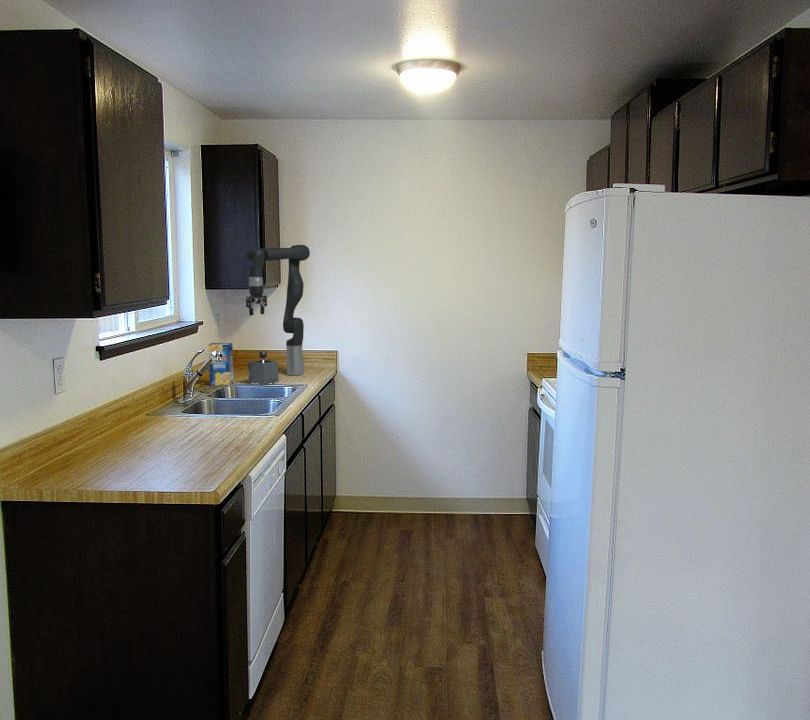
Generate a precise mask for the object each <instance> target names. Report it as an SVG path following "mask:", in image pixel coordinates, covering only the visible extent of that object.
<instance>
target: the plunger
mask: <svg viewBox="0 0 810 720" xmlns="http://www.w3.org/2000/svg"><path fill="white" fill-rule="evenodd" d="M258 355H259V358H261V360H262V363H264V360H265V358H267V357H268V353H267V350H259V351H258Z"/></svg>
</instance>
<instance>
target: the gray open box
mask: <svg viewBox="0 0 810 720" xmlns="http://www.w3.org/2000/svg"><path fill="white" fill-rule="evenodd" d="M247 367H248V384H249V383H258V384H264V385H265V384H269V383H275V382H278V383H279V361H278V360H273V359H272V360H271V359H269V360H268V359H264V363H262V359H258V360H257V359H256V360H251V361H248V366H247Z"/></svg>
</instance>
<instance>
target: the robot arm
mask: <svg viewBox="0 0 810 720" xmlns="http://www.w3.org/2000/svg"><path fill="white" fill-rule="evenodd" d="M310 254H311V251H310V248H309V247H308V246H307V245H305V244H295V245H294V244H293V245H291V246H290V247H267V248H249V249H248V250H247V251H246V253H245V256H246V259H247V260H248V261H250V262H253V263H252V265H251V266H250V267H249V269H248V270H249V271H248V273H249V277H248V278H249V279H248V287H249V288H248V291H249V294H250V295H249V296H245V308H247V309H248V312H249V313H248V314H249V316H254V307H255V306H256V305H258V306H259V307H260V308H259V309H260V311H259V312H260V315H265V307H267V306H268V299H267V298H268V296H267V295H264V280H263V279H264V278H263V268H264V264H265V261H266V262H267V261H268V262H270V261H271V262H272V261H282V260H288V273H287V274H288V275H287V286H286V301H285V308H284V309H285V310H284V314H283V321H282V329H283V331H284V332H285V333H286V334H293V335H292V337H291V338H288V339H286V345H285V346H286V352H285V353H286V375H287V376H303V374H305V364H304V363H305V361H304V360H305V359H304V357H303V342H304V330H305V327H304V326H305V325H304V321H303V319H302V318H301V317H294V315H295V311H296V307H297V306H298V304H299V303H300V301H301V299H302V298H303V295H304V280H303V277H302V275H301V272H300V264H301V263H300V262H303V261H306V260H307V259H309V258H310Z"/></svg>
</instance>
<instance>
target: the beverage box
mask: <svg viewBox="0 0 810 720" xmlns="http://www.w3.org/2000/svg"><path fill="white" fill-rule="evenodd" d="M233 349H234V348H233V342H211V343H208V358H209V357H210V355H211V353H212V352H214V351H219V352H221V353H222V354H223V357H224V359H223V361H222V362H216V361H212V362H211V363H210V365H208V366H209V386H218V385H220V384H231V383H232V382H234V381H235V380H234V378H235V377H234V352H233V351H234V350H233Z"/></svg>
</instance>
